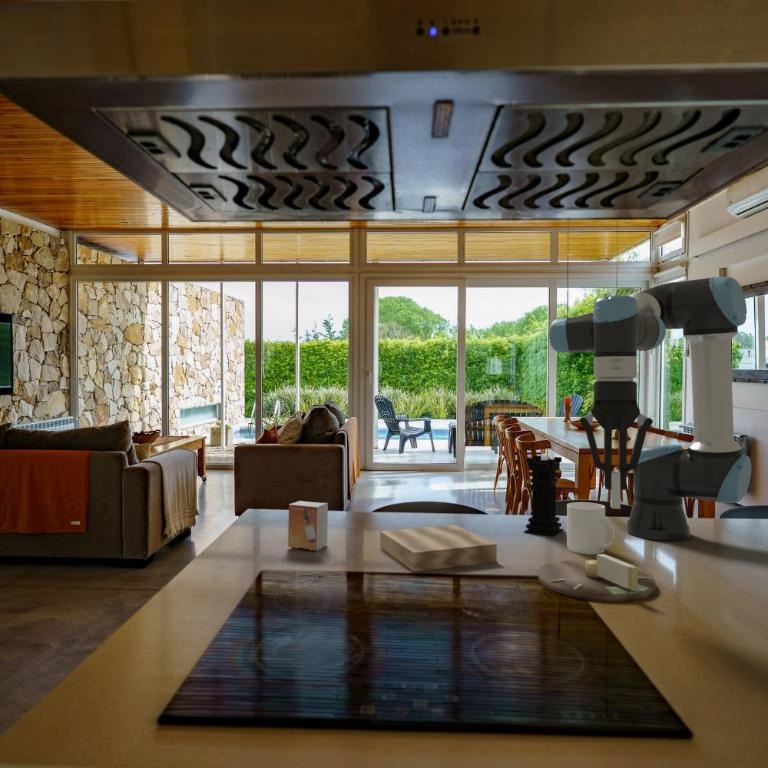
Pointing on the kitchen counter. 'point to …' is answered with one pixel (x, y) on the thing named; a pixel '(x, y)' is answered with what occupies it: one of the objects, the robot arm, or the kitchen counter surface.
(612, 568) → the white bar with ball
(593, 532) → the mug
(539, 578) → the dial
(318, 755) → the kitchen counter surface
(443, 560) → the block
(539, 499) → the chess piece
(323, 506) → the small box
